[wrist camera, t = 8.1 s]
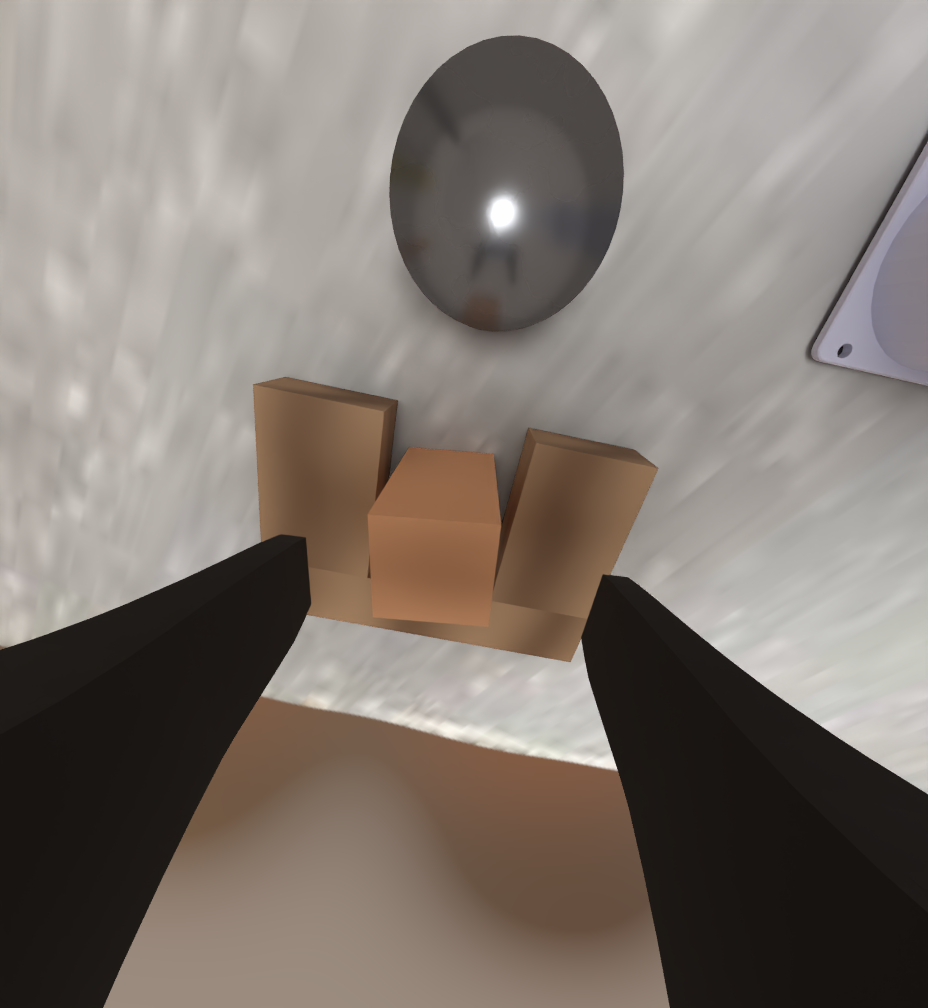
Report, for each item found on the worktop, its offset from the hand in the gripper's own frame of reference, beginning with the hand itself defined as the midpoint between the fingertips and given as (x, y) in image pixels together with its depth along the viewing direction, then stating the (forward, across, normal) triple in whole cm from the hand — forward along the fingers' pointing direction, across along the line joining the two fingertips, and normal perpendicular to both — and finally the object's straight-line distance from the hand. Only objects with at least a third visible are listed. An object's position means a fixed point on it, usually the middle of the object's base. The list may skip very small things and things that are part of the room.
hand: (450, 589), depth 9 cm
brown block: (+9, +1, +1) cm, 10 cm away
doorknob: (+9, 0, -9) cm, 13 cm away
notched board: (+9, +1, +3) cm, 10 cm away
